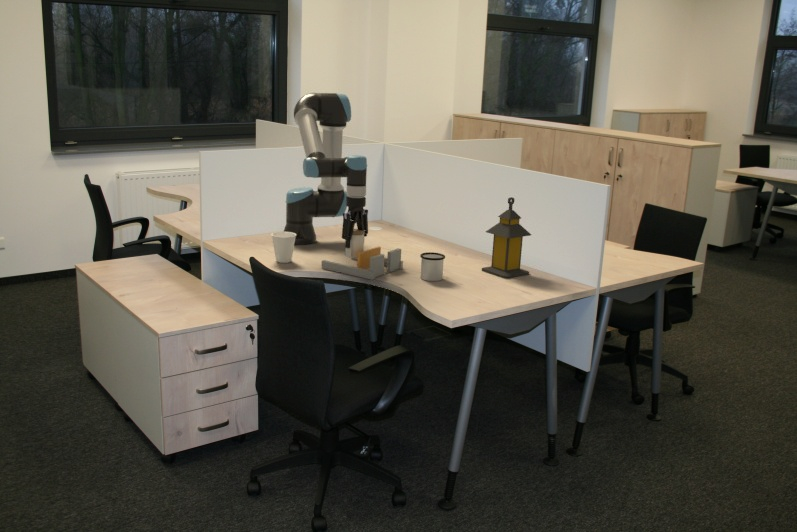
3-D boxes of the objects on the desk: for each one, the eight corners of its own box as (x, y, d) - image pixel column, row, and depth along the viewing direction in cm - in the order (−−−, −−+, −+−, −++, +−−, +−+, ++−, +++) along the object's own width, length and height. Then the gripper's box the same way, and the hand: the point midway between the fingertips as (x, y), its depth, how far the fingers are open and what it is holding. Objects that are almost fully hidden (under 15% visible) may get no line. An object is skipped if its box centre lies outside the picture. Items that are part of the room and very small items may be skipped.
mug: (436, 283, 276) (437, 259, 274) (414, 278, 281) (415, 255, 279) (451, 276, 286) (452, 253, 284) (430, 272, 291) (431, 249, 289)
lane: (353, 258, 307) (353, 239, 305) (402, 268, 295) (403, 248, 293) (321, 268, 290) (321, 248, 288) (372, 279, 278) (373, 258, 276)
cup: (272, 257, 302) (272, 231, 299) (296, 258, 303) (297, 231, 300) (270, 264, 293) (270, 236, 290) (295, 264, 294) (295, 237, 291)
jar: (352, 252, 298) (353, 227, 295) (367, 255, 294) (368, 230, 292) (341, 255, 292) (342, 230, 289) (356, 258, 288) (357, 233, 286)
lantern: (480, 270, 297) (485, 195, 289) (505, 265, 305) (511, 193, 298) (505, 279, 286) (511, 202, 279) (530, 274, 295) (537, 199, 287)
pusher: (377, 263, 297) (378, 246, 295) (397, 267, 292) (397, 250, 290) (357, 270, 285) (357, 253, 283) (376, 275, 280) (377, 257, 279)
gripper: (363, 192, 297) (361, 248, 303) (332, 198, 281) (331, 257, 287) (378, 194, 293) (376, 251, 299) (348, 200, 277) (347, 260, 283)
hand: (354, 254), depth 293 cm, fingers closed on jar, 7 cm apart
